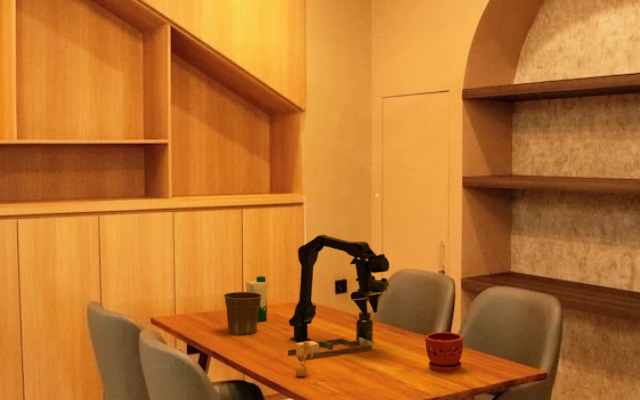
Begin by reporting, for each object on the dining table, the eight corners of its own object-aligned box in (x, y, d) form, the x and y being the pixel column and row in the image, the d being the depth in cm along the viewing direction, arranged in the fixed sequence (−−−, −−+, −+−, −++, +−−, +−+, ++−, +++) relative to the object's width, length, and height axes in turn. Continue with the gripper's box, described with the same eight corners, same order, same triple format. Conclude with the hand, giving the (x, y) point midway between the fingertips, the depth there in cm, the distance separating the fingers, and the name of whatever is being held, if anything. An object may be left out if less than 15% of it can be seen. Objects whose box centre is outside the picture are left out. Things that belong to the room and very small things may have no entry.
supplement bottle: (371, 344, 312) (371, 314, 311) (354, 343, 313) (355, 314, 312) (373, 340, 319) (374, 311, 318) (357, 339, 320) (357, 310, 319)
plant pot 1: (264, 328, 340) (264, 292, 339) (258, 337, 324) (258, 298, 323) (228, 327, 341) (228, 291, 340) (220, 336, 325) (219, 298, 324)
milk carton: (269, 321, 353) (269, 278, 352) (250, 323, 350) (250, 279, 348) (262, 317, 361) (262, 275, 360) (244, 319, 358) (244, 276, 356)
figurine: (288, 375, 268) (288, 340, 268) (301, 371, 272) (301, 338, 272) (304, 380, 262) (304, 345, 262) (317, 376, 266) (317, 342, 266)
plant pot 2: (437, 361, 286) (437, 329, 285) (469, 368, 278) (469, 335, 277) (418, 369, 276) (418, 336, 275) (450, 376, 268) (451, 342, 267)
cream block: (296, 356, 294) (296, 343, 294) (312, 353, 297) (312, 341, 297) (302, 359, 290) (302, 346, 289) (318, 356, 293) (318, 343, 293)
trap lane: (280, 351, 300) (280, 344, 299) (351, 341, 316) (352, 334, 316) (299, 361, 286) (299, 353, 286) (372, 349, 303) (372, 342, 303)
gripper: (373, 274, 287) (380, 316, 286) (392, 269, 304) (399, 308, 303) (347, 278, 292) (353, 319, 291) (366, 272, 309) (373, 311, 308)
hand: (371, 314), depth 298 cm, fingers open, 9 cm apart
